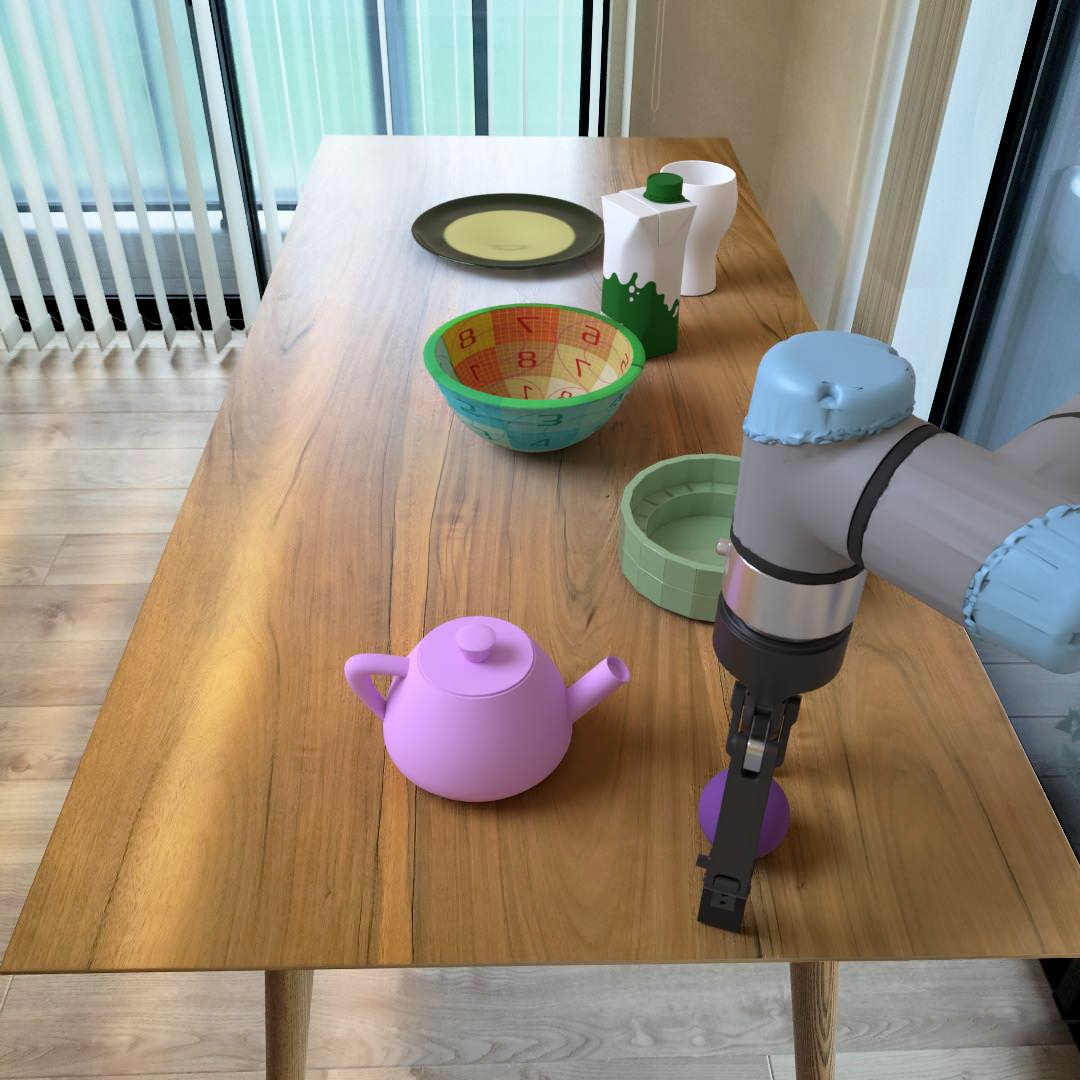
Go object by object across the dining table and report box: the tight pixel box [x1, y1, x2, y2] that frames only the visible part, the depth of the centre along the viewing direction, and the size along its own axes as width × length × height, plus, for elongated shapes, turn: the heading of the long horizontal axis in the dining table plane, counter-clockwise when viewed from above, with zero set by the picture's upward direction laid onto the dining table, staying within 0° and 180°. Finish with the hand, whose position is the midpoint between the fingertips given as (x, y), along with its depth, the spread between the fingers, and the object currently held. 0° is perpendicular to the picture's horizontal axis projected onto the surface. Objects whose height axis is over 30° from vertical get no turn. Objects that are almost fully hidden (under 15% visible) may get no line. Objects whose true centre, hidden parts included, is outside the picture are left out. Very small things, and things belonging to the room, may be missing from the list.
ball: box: [697, 768, 791, 860], centre depth 72 cm, size 6×6×6 cm
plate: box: [410, 192, 605, 271], centre depth 155 cm, size 28×28×2 cm
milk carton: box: [599, 172, 697, 360], centre depth 125 cm, size 9×9×20 cm
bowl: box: [422, 302, 646, 454], centre depth 111 cm, size 22×22×10 cm
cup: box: [659, 160, 739, 297], centre depth 141 cm, size 11×11×15 cm
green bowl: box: [616, 453, 741, 623], centre depth 96 cm, size 18×18×6 cm
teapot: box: [343, 615, 631, 803], centre depth 77 cm, size 14×20×11 cm
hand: (736, 839), depth 73 cm, fingers open, 13 cm apart
